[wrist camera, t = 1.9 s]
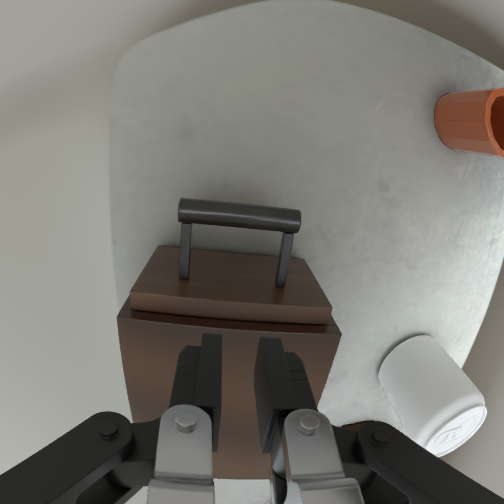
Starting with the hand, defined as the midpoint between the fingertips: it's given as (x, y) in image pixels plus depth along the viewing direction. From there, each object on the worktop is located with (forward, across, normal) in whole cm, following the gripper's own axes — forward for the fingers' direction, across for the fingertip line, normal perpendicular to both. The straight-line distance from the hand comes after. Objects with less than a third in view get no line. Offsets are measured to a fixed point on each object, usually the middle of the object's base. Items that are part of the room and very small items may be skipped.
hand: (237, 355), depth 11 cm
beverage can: (+15, -21, +13) cm, 29 cm away
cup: (+15, -19, -13) cm, 28 cm away
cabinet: (+15, 0, +11) cm, 18 cm away
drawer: (+14, 0, +6) cm, 15 cm away
